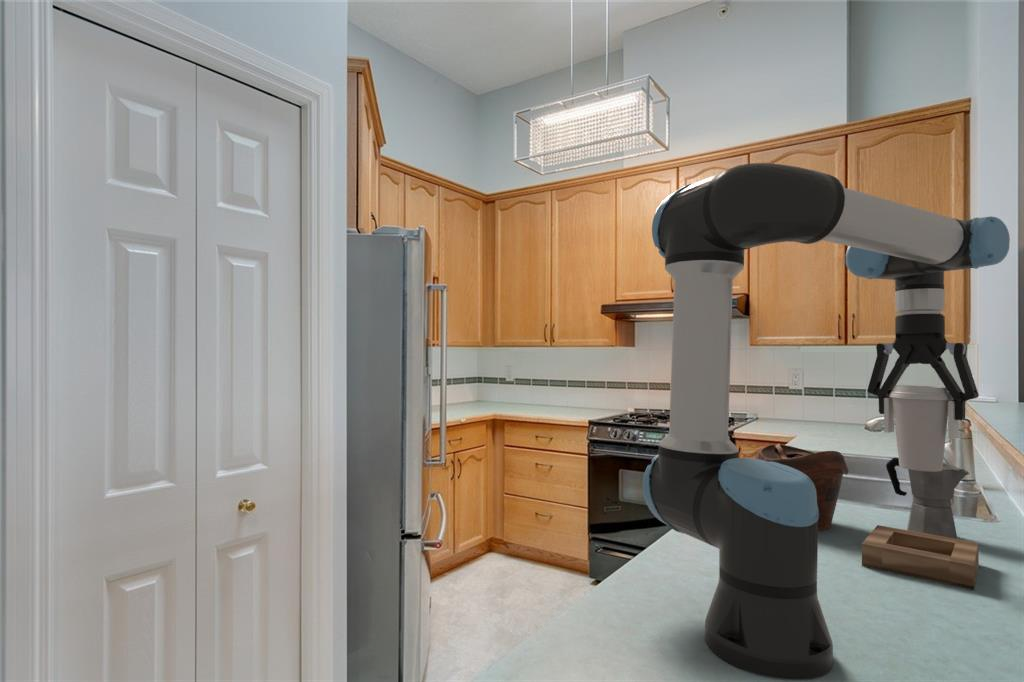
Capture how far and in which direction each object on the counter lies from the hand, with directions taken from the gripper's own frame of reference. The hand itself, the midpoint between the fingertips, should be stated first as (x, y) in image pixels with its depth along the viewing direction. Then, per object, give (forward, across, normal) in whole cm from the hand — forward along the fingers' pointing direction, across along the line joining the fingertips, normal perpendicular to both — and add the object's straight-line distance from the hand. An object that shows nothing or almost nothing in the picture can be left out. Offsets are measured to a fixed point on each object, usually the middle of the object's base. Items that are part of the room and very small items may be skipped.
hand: (920, 435), depth 107 cm
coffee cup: (+6, 0, 0) cm, 6 cm away
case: (+24, +27, -9) cm, 37 cm away
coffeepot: (+24, +7, -23) cm, 34 cm away
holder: (+24, 0, 0) cm, 24 cm away
